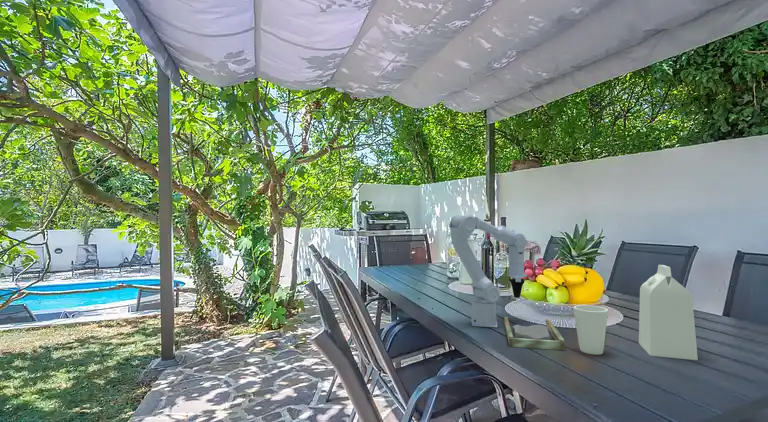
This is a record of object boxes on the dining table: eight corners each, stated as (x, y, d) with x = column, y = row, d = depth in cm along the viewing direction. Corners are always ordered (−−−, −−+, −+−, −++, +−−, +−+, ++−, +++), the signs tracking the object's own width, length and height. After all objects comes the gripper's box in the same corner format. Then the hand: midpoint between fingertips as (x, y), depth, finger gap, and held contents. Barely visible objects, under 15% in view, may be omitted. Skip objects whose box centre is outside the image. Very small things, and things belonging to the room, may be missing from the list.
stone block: (553, 350, 124) (547, 334, 133) (553, 336, 123) (546, 322, 132) (514, 349, 126) (511, 334, 136) (514, 335, 125) (511, 321, 135)
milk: (697, 360, 109) (695, 269, 109) (650, 355, 112) (648, 267, 113) (681, 346, 120) (679, 264, 120) (638, 343, 124) (636, 263, 124)
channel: (508, 346, 122) (508, 337, 122) (504, 322, 149) (503, 315, 149) (565, 350, 117) (565, 341, 117) (549, 325, 145) (549, 318, 145)
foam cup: (605, 347, 120) (604, 306, 120) (612, 357, 111) (611, 313, 111) (572, 344, 123) (571, 304, 123) (576, 354, 114) (575, 310, 114)
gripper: (529, 265, 144) (529, 301, 144) (525, 261, 158) (525, 294, 158) (509, 265, 146) (510, 300, 146) (507, 261, 160) (507, 293, 160)
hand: (517, 297), depth 152 cm, fingers closed
